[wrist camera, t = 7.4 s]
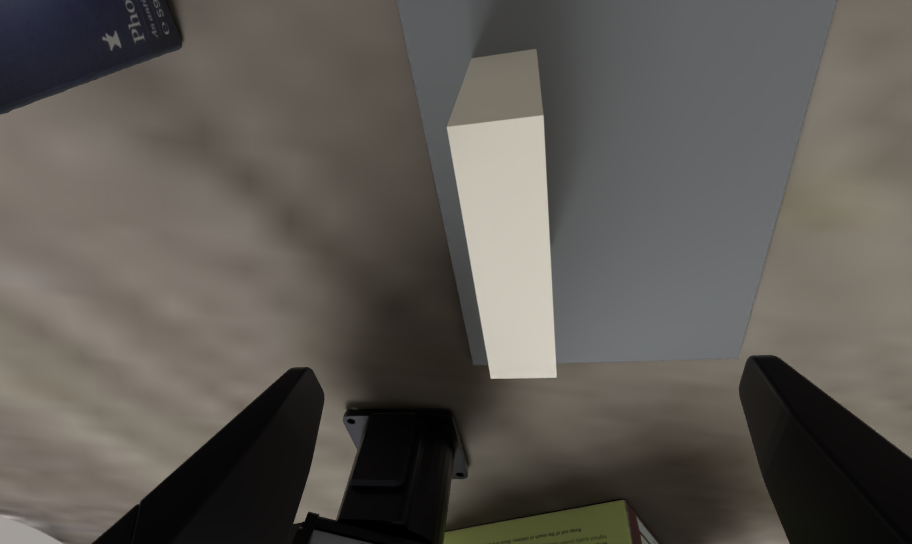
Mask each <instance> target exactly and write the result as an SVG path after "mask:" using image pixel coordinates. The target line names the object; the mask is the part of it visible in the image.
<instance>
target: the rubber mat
mask: <svg viewBox="0 0 912 544" xmlns="http://www.w3.org/2000/svg"><path fill="white" fill-rule="evenodd" d="M836 2H837V0H397V5H398V9H399V14H400V19H401V24H402V29H403V33H404V38H405V43H406V48H407V52H408V57H409V62H410V67H411V71H412V76H413V81H414V86H415V90H416V95H417V100H418V105H419V109H420V114H421V119H422V124H423V128H424V133H425V138H426V143H427V147H428V152H429V157H430V162H431V166H432V171H433V176H434V181H435V185H436V190H437V195H438V200H439V204H440V209H441V214H442V219H443V223H444V228H445V233H446V238H447V242H448V247H449V252H450V257H451V261H452V266H453V271H454V276H455V280H456V285H457V290H458V295H459V300H460V304H461V309H462V314H463V319H464V323H465V328H466V333H467V338H468V342H469V347H470V352H471V357H472V361H473V365H488V359H487V354H486V348H485V342H484V336H483V331H482V325H481V319H480V314H479V308H478V302H477V297H476V291H475V285H474V280H473V274H472V268H471V262H470V257H469V251H468V245H467V240H466V234H465V228H464V223H463V217H462V211H461V206H460V200H459V194H458V188H457V183H456V177H455V171H454V166H453V160H452V154H451V149H450V143H449V137H448V131H447V125H448V122H449V119H450V116H451V114H452V111H453V108H454V105H455V103H456V100H457V97H458V94H459V92H460V89H461V86H462V83H463V80H464V78H465V75H466V72H467V69H468V67H469V64H470V61H471V58H477V57H484V56H491V55H497V54H504V53H511V52H518V51H524V50H531V49H537V58H538V68H539V77H540V87H541V97H542V106H543V116H544V136H545V156H546V176H547V195H548V215H549V235H550V255H551V275H552V294H553V314H554V334H555V354H556V363H588V362H626V361H664V360H703V359H738V357H739V353H740V350H741V346H742V343H743V339H744V335H745V332H746V328H747V324H748V321H749V317H750V314H751V310H752V306H753V303H754V299H755V295H756V292H757V288H758V285H759V281H760V277H761V274H762V270H763V266H764V263H765V259H766V256H767V252H768V248H769V245H770V241H771V238H772V234H773V230H774V227H775V223H776V219H777V216H778V212H779V209H780V205H781V201H782V198H783V194H784V190H785V187H786V183H787V180H788V176H789V172H790V169H791V165H792V161H793V158H794V154H795V151H796V147H797V143H798V140H799V136H800V132H801V129H802V125H803V122H804V118H805V114H806V111H807V107H808V104H809V100H810V96H811V93H812V89H813V85H814V82H815V78H816V75H817V71H818V67H819V64H820V60H821V56H822V53H823V49H824V46H825V42H826V38H827V35H828V31H829V27H830V24H831V20H832V17H833V13H834V9H835V6H836Z"/></svg>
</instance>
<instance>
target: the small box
mask: <svg viewBox="0 0 912 544" xmlns="http://www.w3.org/2000/svg"><path fill="white" fill-rule="evenodd" d="M181 47H182V42H181V39H180V36H179V33H178V31H177V28H176V26H175V23H174V21H173V18H172V16H171V13H170V11H169V8H168V6H167V3H166V1H165V0H0V114H4V113H8V112H10V111H11V110H13V109H17V108H20V107H23V106H25V105H28V104H31V103H33V102H35V101H37V100H40V99H43V98H46V97H49V96H52V95H55V94H58V93H61V92H64V91H66V90H68V89H70V88H73V87H76V86H78V85H81V84H85V83H88V82H90V81H92V80H96V79H98V78H100V77H103V76H107V75H109V74H112V73H114V72H116V71H120V70H122V69H125V68H128V67H131V66H133V65H135V64H139V63H142V62H144V61H148V60H150V59H152V58H155V57H159V56H161V55H163V54H166V53H169V52H173V51H176V50H179V49H180V48H181Z"/></svg>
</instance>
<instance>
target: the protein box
mask: <svg viewBox="0 0 912 544" xmlns="http://www.w3.org/2000/svg"><path fill="white" fill-rule="evenodd" d="M443 544H660V543H659V542H658V540H657V539H656V538H655V537H654V535H653V534H652V533H651V532H650V530H649V529H648V528H647V527H646V525H645V524H644V523H643V522H642V520H641V519H640V518H639V517H638V515H637V514H636V513H635V512H634V510H633V509H632V508H631V507H630V505H629V504H628V503H627V502H626V501H625V500H619V501H613V502H608V503H602V504H597V505H591V506H586V507H580V508H575V509H569V510H564V511H558V512H553V513H547V514H542V515H536V516H530V517H525V518H519V519H514V520H508V521H503V522H497V523H492V524H486V525H481V526H476V527H470V528H465V529H459V530H454V531H449V532H445V535H444V543H443Z"/></svg>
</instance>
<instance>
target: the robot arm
mask: <svg viewBox="0 0 912 544" xmlns="http://www.w3.org/2000/svg"><path fill="white" fill-rule="evenodd" d="M739 395H740V400H741V403H742V407H743V410H744V414H745V417H746V421H747V424H748V428H749V431H750V435H751V438H752V442H753V445H754V449H755V452H756V456H757V459H758V463H759V466H760V469H761V473H762V476H763V479H764V482H765V484H766V487H767V490H768V492H769V495H770V497H771V499H772V502H773V504H774V507H775V509H776V512H777V514H778V516H779V519H780V521H781V524H782V526H783V528H784V531H785V533H786V536H787V538H788V540H789V543H790V544H912V459H911V458H910V457H909V456H908V455H906V454H905V453H904V452H902V451H901V450H900V449H898V448H897V447H896V446H894V445H893V444H892V443H890V442H889V441H888V440H887V439H885V438H884V437H883V436H881V435H880V434H879V433H877V432H876V431H875V430H873V429H872V428H871V427H869V426H868V425H867V424H865V423H864V422H863V421H862V420H860V419H859V418H858V417H856V416H855V415H854V414H852V413H851V412H850V411H848V410H847V409H846V408H844V407H843V406H842V405H841V404H839V403H838V402H837V401H835V400H834V399H833V398H831V397H830V396H829V395H827V394H826V393H825V392H823V391H822V390H821V389H820V388H818V387H817V386H816V385H814V384H813V383H812V382H810V381H809V380H808V379H806V378H805V377H804V376H802V375H801V374H800V373H799V372H797V371H796V370H795V369H793V368H792V367H791V366H789V365H788V364H787V363H785V362H784V361H783V360H781V359H780V358H778V357H776V356H774V355H755V356H750V357H749V358H748V359H747V361H746V364H745V368H744V371H743V374H742V378H741V381H740V385H739ZM323 405H324V392H323V389H322V388H321V386H320V384H319V382H318V380H317V378H316V376H315V374H314V372H313V370H312V369H310V368H309V367H295V368H291V369H289V370H288V371H287V372H285V373H284V374H283V375H282V376H281V377H280V378H279V379H278V380H276V381H275V382H274V383H273V384H272V385H271V386H270V387H269V388H267V389H266V390H265V391H264V392H263V393H262V394H261V395H260V396H258V397H257V398H256V399H255V400H254V401H253V402H252V403H251V404H249V405H248V406H247V407H246V408H245V409H244V410H243V411H241V412H240V413H239V414H238V415H237V416H236V417H235V418H234V419H232V420H231V421H230V422H229V423H228V424H227V425H226V426H225V427H223V428H222V429H221V430H220V431H219V432H218V433H217V434H216V435H214V436H213V437H212V438H211V439H210V440H209V441H208V442H207V443H205V444H204V445H203V446H202V447H201V448H200V449H199V450H198V451H196V452H195V453H194V454H193V455H192V456H191V457H190V458H189V459H187V460H186V461H185V462H184V463H183V464H182V465H181V466H179V467H178V468H177V469H176V470H175V471H174V472H173V473H172V474H170V475H169V476H168V477H167V478H166V479H165V480H164V481H163V482H161V483H160V484H159V485H158V486H157V487H156V488H155V489H154V490H152V491H151V492H150V493H149V494H148V495H147V496H146V497H145V498H143V499H142V500H141V501H140V504H137V505H135V506H134V507H133V508H132V509H131V510H130V511H129V512H127V513H126V514H125V515H124V516H123V517H122V518H121V519H120V520H118V521H117V522H116V523H115V524H114V525H113V526H111V527H110V528H109V529H108V530H107V531H106V532H104V533H103V534H102V535H101V536H100V537H99V538H98V539H96V540H95V541H94V542H93V543H92V544H443V543H444V535H445V527H446V519H447V511H448V503H449V495H450V488H451V480H452V479H465V478H467V477H468V466H467V462H466V459H465V455H464V451H463V448H462V444H461V440H460V436H459V433H458V429H457V425H456V422H455V418H454V415H453V413H452V412H451V411H448V410H349V411H346V412H345V414H344V417H343V422H344V424H345V426H346V428H347V430H348V432H349V434H350V436H351V438H352V440H353V442H354V444H355V446H356V448H357V454H356V457H355V460H354V463H353V467H352V470H351V473H350V476H349V479H348V483H347V486H346V489H345V492H344V496H343V499H342V502H341V505H340V509H339V512H338V515H337V518H336V520H332V519H328V518H324V517H320V516H319V514H316V513H312V512H308V514H307V517H306V519H305V522H302V523H297V524H293V522H294V519H295V516H296V513H297V510H298V507H299V504H300V500H301V497H302V494H303V491H304V488H305V485H306V481H307V478H308V475H309V471H310V467H311V463H312V459H313V454H314V449H315V444H316V439H317V435H318V430H319V425H320V420H321V415H322V410H323Z"/></svg>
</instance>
